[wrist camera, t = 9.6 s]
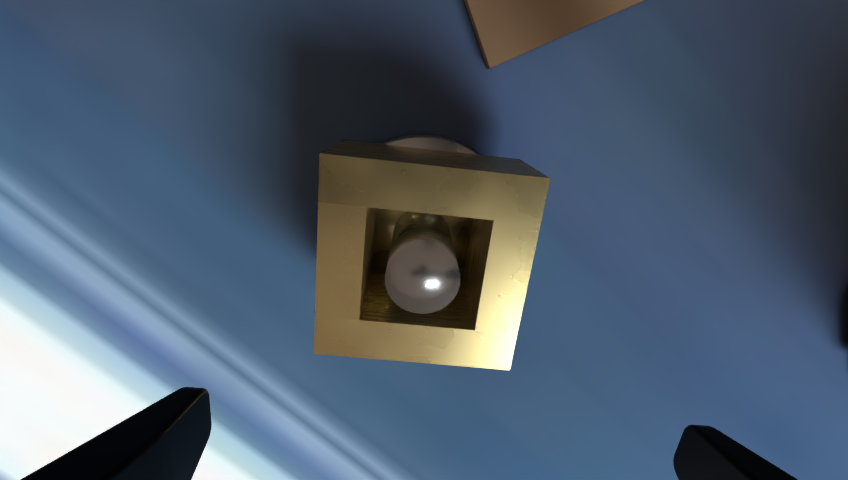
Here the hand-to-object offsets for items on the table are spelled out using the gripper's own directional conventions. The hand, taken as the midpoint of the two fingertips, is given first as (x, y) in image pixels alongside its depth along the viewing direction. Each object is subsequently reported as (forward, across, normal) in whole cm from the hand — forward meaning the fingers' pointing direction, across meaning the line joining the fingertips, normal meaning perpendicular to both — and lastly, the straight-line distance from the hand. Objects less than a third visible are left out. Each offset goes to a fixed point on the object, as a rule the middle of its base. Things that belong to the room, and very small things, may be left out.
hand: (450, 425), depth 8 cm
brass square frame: (+10, 0, 0) cm, 10 cm away
